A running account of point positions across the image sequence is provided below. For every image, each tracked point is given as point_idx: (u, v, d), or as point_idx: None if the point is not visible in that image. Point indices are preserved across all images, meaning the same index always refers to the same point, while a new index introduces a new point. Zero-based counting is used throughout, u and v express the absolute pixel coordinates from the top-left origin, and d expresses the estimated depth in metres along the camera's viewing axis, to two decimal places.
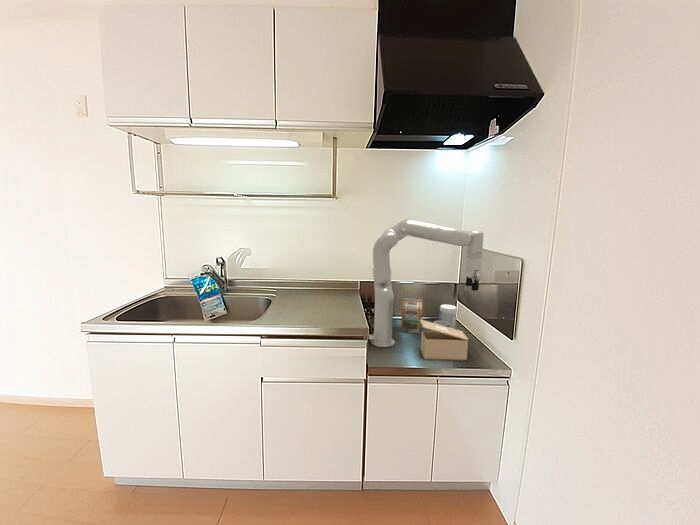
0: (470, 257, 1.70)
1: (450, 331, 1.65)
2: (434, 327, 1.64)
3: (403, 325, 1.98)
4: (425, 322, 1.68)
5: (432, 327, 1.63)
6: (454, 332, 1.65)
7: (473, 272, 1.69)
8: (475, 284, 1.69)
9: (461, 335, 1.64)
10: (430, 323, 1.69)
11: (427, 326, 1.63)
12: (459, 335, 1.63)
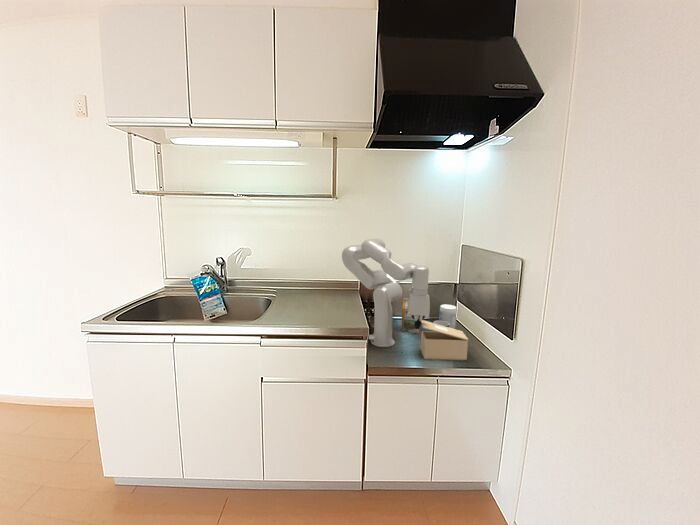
0: (425, 294, 1.61)
1: (450, 331, 1.65)
2: (434, 327, 1.64)
3: (403, 325, 1.98)
4: (425, 322, 1.68)
5: (432, 327, 1.63)
6: (454, 332, 1.65)
7: (429, 308, 1.63)
8: (420, 321, 1.66)
9: (461, 335, 1.64)
10: (430, 323, 1.69)
11: (427, 326, 1.63)
12: (459, 335, 1.63)
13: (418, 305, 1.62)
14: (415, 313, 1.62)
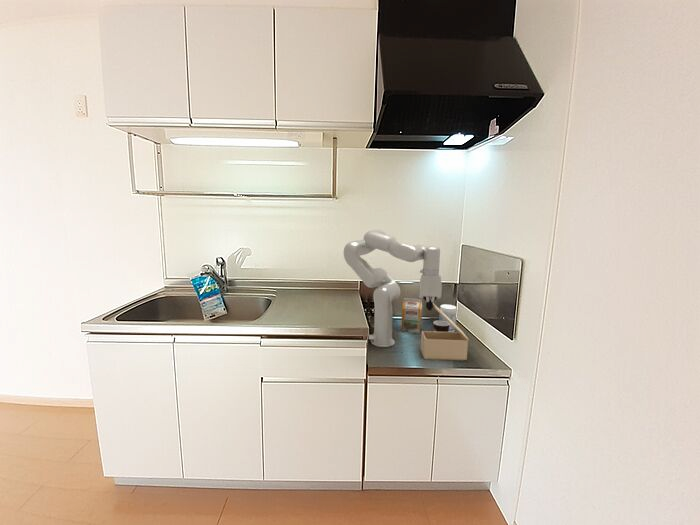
0: (437, 275, 1.59)
1: (455, 325, 1.65)
2: (443, 314, 1.63)
3: (403, 325, 1.98)
4: (436, 306, 1.67)
5: (442, 313, 1.62)
6: (458, 328, 1.65)
7: (441, 289, 1.61)
8: (432, 303, 1.64)
9: (463, 333, 1.64)
10: None
11: (438, 310, 1.61)
12: None
13: (430, 286, 1.60)
14: (427, 294, 1.61)
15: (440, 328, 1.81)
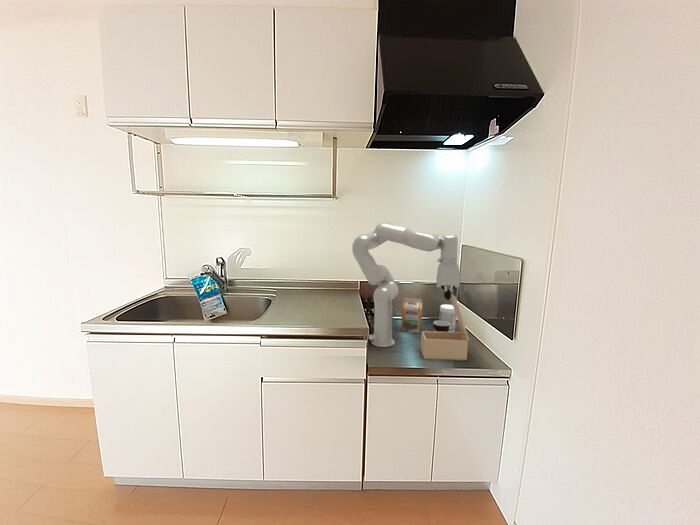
0: (455, 263, 1.58)
1: None
2: (457, 307, 1.62)
3: (403, 325, 1.98)
4: (452, 297, 1.66)
5: None
6: (462, 325, 1.65)
7: None
8: None
9: None
10: (454, 302, 1.67)
11: None
12: (465, 331, 1.62)
13: (448, 275, 1.59)
14: (445, 283, 1.59)
15: (440, 328, 1.81)
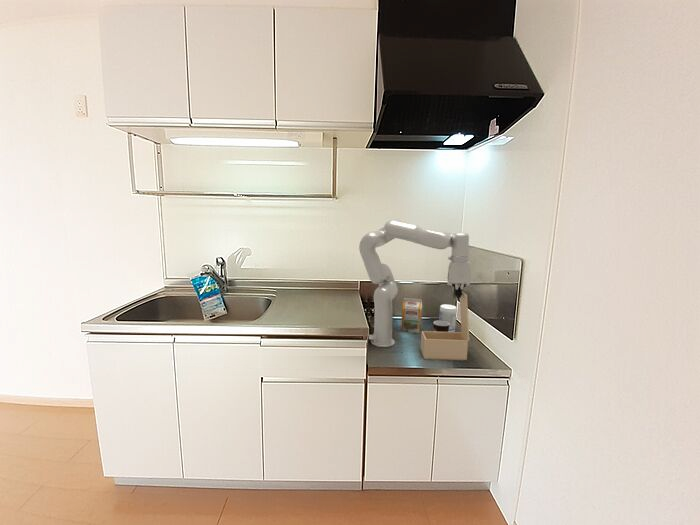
0: (466, 261, 1.58)
1: None
2: None
3: (403, 325, 1.98)
4: None
5: None
6: None
7: None
8: None
9: None
10: None
11: None
12: None
13: (459, 273, 1.58)
14: (456, 281, 1.59)
15: (440, 328, 1.81)
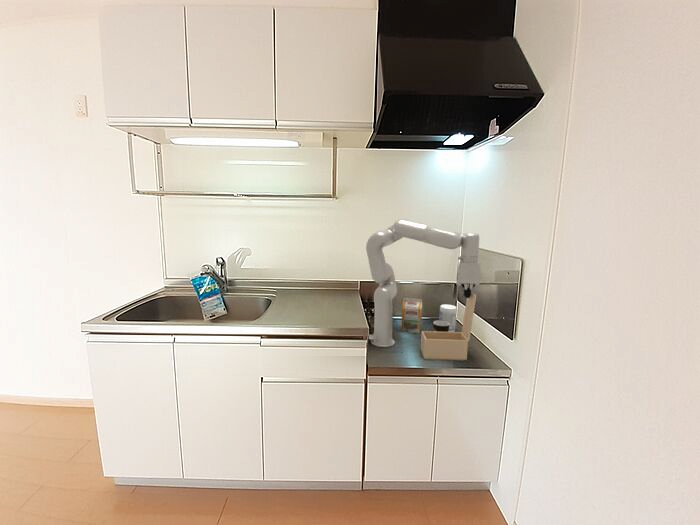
0: (476, 262, 1.57)
1: None
2: None
3: (403, 325, 1.98)
4: None
5: None
6: None
7: None
8: None
9: None
10: None
11: None
12: None
13: (469, 273, 1.58)
14: (466, 281, 1.59)
15: (440, 328, 1.81)
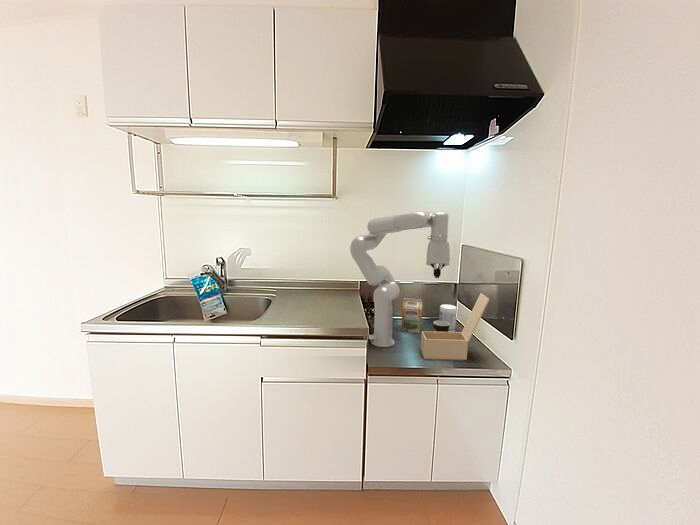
0: (445, 241, 1.57)
1: None
2: None
3: (403, 325, 1.98)
4: None
5: None
6: None
7: (449, 256, 1.59)
8: None
9: None
10: None
11: None
12: None
13: (438, 252, 1.57)
14: (435, 261, 1.58)
15: (440, 328, 1.81)
